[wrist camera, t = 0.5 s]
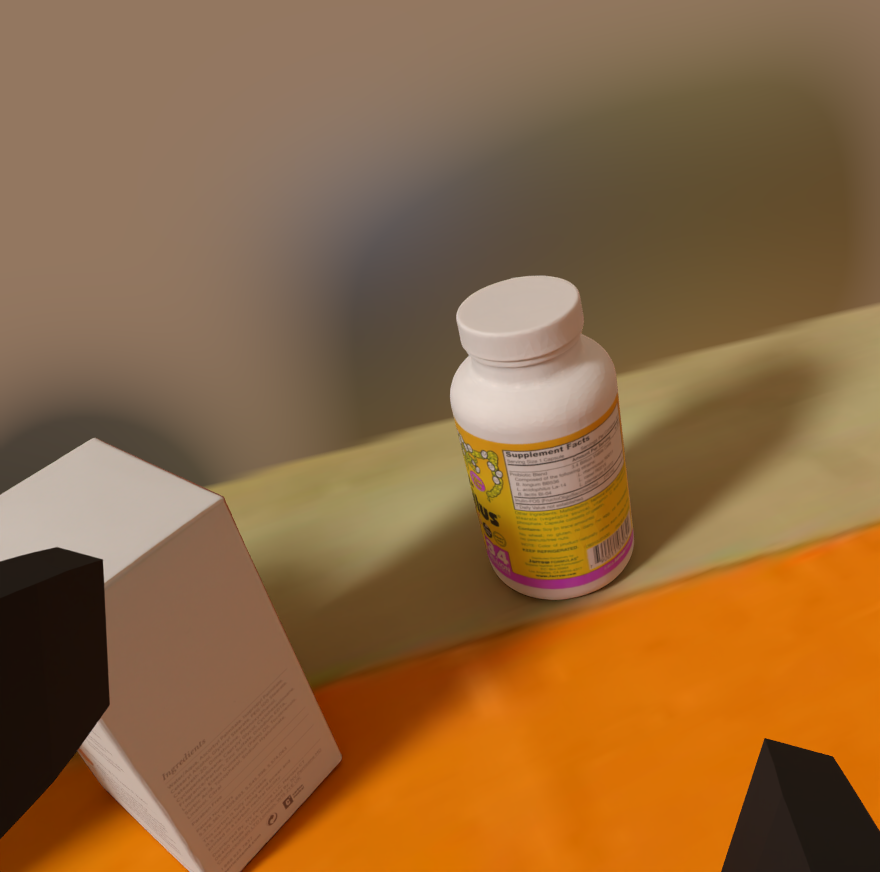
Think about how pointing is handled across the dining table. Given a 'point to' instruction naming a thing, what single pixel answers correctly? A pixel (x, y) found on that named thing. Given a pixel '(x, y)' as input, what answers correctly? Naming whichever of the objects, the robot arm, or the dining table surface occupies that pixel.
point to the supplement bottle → (542, 439)
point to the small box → (180, 656)
